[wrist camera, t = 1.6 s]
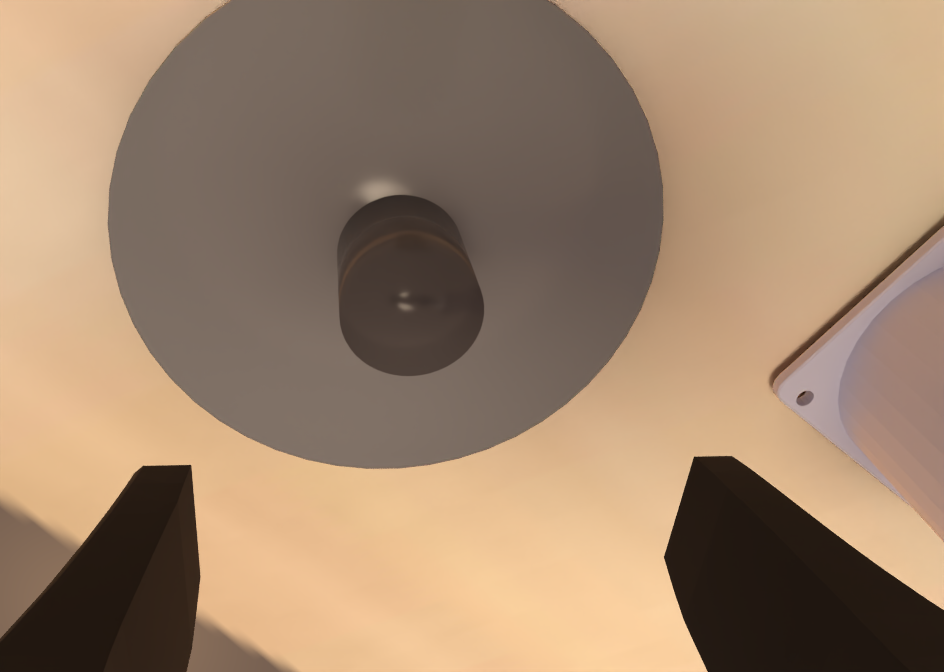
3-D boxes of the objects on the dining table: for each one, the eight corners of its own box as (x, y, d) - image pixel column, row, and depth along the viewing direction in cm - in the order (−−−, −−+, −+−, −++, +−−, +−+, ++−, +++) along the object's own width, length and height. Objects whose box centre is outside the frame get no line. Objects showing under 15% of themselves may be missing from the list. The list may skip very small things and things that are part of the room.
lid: (752, 193, 21) (831, 255, 18) (434, 516, 25) (451, 615, 22) (338, -205, 15) (343, -221, 12) (9, 293, 19) (-53, 382, 16)
